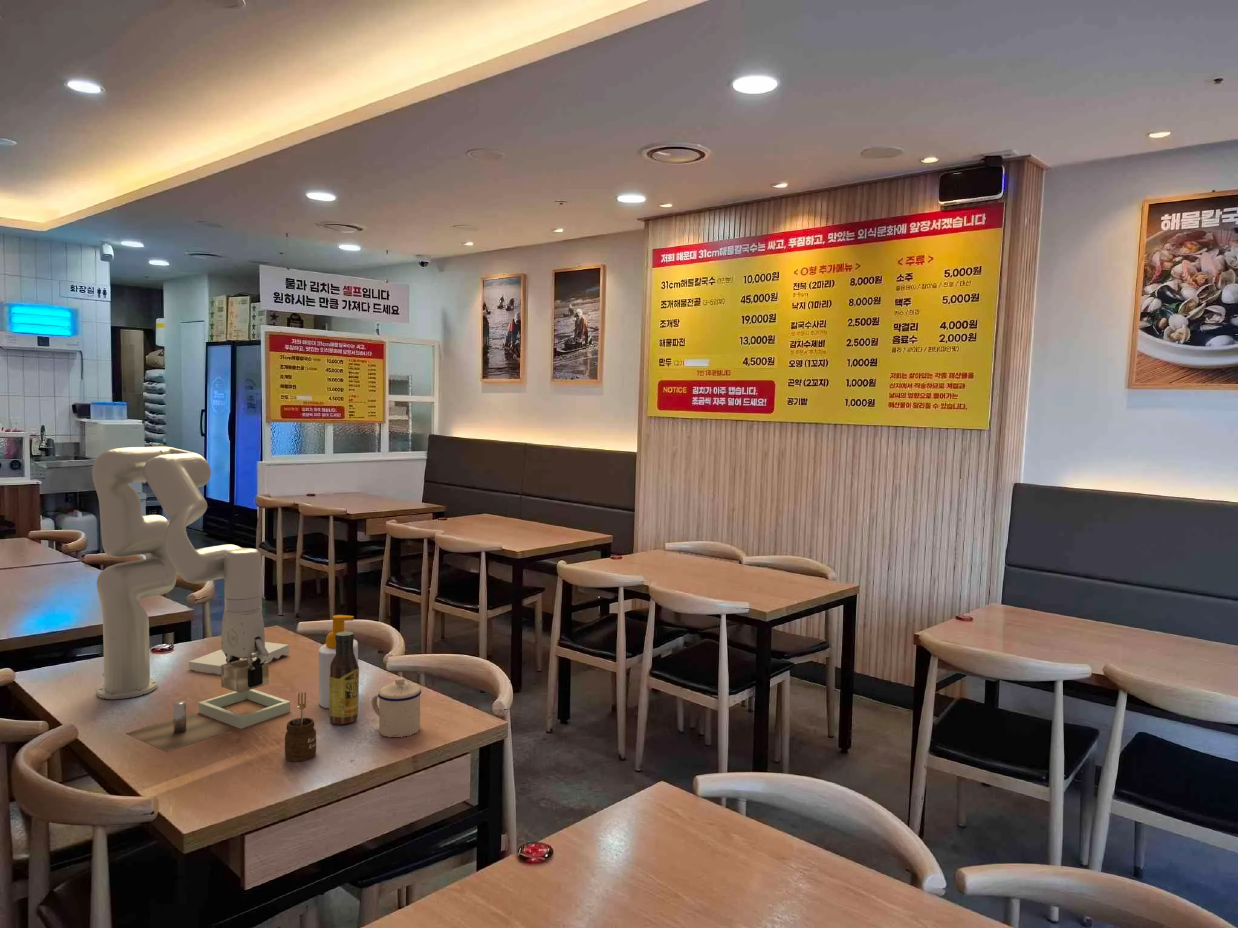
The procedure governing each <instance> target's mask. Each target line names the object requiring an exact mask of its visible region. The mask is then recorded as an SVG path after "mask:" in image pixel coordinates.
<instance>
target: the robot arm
mask: <svg viewBox="0 0 1238 928" xmlns="http://www.w3.org/2000/svg"><path fill="white" fill-rule="evenodd" d="M211 476H212V471H211V467H210V463H209V462H208V461H207V460H206V459H205V457H204V456H202V455H201V454H199V453H196V452H192V451H189V450H184V449H179V448H175V447H171V446H130V447H129V446H128V447H118V448H111V449H107V450H105V451H103V452H101V453H100V454H99V455H98V456H96V458H95V460H94V461H93V465H92V481H93V485H94V489H95V491H96V494H97V499H98V502H99V503H98V504H99V520H100V532H101V533H100V535H101V545H102V549H103V551H104V553H105V555H107V556H108V557H111V558H117V559H118V558H119V559H120V558H128V557H135V556H141V555H145V558H144V559H138V560H131V561H126V562H118V563H116V564H112V565H110V566H107V567H106V568H104V569H102V571H101V572H100V573H99V574H98V576H97V580H96V588H97V593H98V597H99V601H100V606H101V615H102V633H103V634H102V636H103V637H102V640H103V641H102V642H103V644H102V645H103V673H102V677H103V679H104V680H103V681H104V684H103V685H100V687H98V688H97V690H96V695H97V696H98V697H99V698H101V697H102V698H101V699H104V698H105V699H107V700H121V699H129V698H130V697H131V698H136V697H140V696H144V695H147V694H149V693H151V692H153V691H154V690H157V688H158V681H157V680H156V679H154V678H151V669H150V667H151V665H150V664H151V662H150V659H151V658H150V625H149V623H150V622H149V621H150V620H149V615H148V614H147V611H146V610H145V608H143V606H142V605H141V604H140V602H139V601H141V600H144V599H146V598H147V599H149V598H152V597H157V596H160V595H164V594H167V593H169V592H170V591H172V590H173V589H174V588H175V586H176V582H177V578H178V577H177V575H179V577H180V578H181V579H183V581H185V582H187V583H190V584H194V585H197V584H202V583H206V582H212V581H215V580H222V579H223V580H224V582H223V583H224V584H223V585H224V587H223V588H224V590H223V591H224V611H223V614H222V619H221V620H222V621H221V622H222V623H221V635H220V637H221V641H220V644H221V645H220V647H221V649H222V651H223V652H224V654H225V656H226V662H227V663H230V662H233V661H237V660H240V658H242V659H246V658H247V661H248V664H249V667H250V669H249V670H248V687H250V688H251V687H254V686H258V685H261V684H262V683H263V672H262V667H264V663H265V661H266V658H267V657H268V655H269V653H268V651H267V650H266V648H265V642H266V635H265V623H264V617H263V613H262V612H263V611H262V610H263V599H262V598H263V595H262V554H261V552H260V551H259V550H258V549H257V548H251V547H241V546H239V545H235V544H231V543H230V544H229V543H228V544H220V545H211V546H207V547H201V548H195V547H194V545H193V544H192V542H191V540H190V539H189V536H188V535H187V534H188V533H187V527H188V526H190V525H191V524H193V523H194V522H196V521H197V520H199V519H200V518H201V517H202V516H203V515H204V514H205V513H206V511H207V509H208V503H207V500H206V499H205V497H204V496H203V493H202V492H201V490H200V489H199V488H201V487H204V486H206V485H207V484H208V483H209V481H210V479H211ZM131 483H147V484H148V485H149V487H150V489H151V491H152V492H153V495H154V496H155V498H156V500H157V502H158V503H159V504H160V506H161V508H162V510H163V512H164V513H165V515H166V516H167V518H166V517H164V516H163V515H160V514H146V515H142V505H141V504H142V503H141V497H140V495H139V494H138V493H137V491H136V490H135V488H134V487H133V486H132V485H131ZM221 649H220V650H221ZM252 653H255V654H253V655H252ZM255 657H256V658H257V659H256V660H255V662H253V659H252V658H255ZM143 694H144V695H143ZM105 699H104V700H105Z"/></svg>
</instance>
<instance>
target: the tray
mask: <svg viewBox="0 0 1238 928" xmlns="http://www.w3.org/2000/svg"><path fill="white" fill-rule="evenodd" d="M245 700H248V701H250V702H254V703H256V704H259V705H262V706H264V707H263V708H260V709H258V710H255V711H252V712H249V713H246V714H243V715H241V714H238V713H236V712H233V711H231V710H228V709H225V708H223V707H226V706H227V707H228V706H229V705H233V704H235V703H239V702H243V701H245ZM197 703H198V713H199V714H202V715H204V716H206V717H209V718H212V719H214V720H217V721H220V722H222V723H224V724H228V725H229V726H232V727H234V728H236V729H237V728H238V729H241V730H242V729H245V728H247V727H251V726H252V725H256V724H259V723H262V722H265V721H267V720H271V719H273V718H277V717H279V716H282V715H284V714H285V715H286V714H287V713H290V712H291V701H289V700H286V699H284V698H281V697H278V696H275V695H272V694H269V693H266V692H262V691H260V690H257V689H255V688H254V689H251V690H248V691H244V692H241V693H239V692H235V691H232V692H231V691H230V692H228V693H225V694H221V695H218V696H215V697H212V698H208V699H205V700H201V701H198V702H197ZM265 706H266V707H265Z"/></svg>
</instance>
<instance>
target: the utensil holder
mask: <svg viewBox="0 0 1238 928" xmlns="http://www.w3.org/2000/svg"><path fill="white" fill-rule="evenodd" d="M297 693H298V694H297V706H296V705H295V707H294V709H293V710H291V711H292V712H291V713H293V714H296V712H295V711H296V709H297V710H299V711H300V717H296V718H295V719H294V716H291V717H292V718H291V720H289V721H288V722H287V723H286V733H285V734H284V756H285V758H286V760H288V761H289V760H290V762H295V761H297V762H304V761H303V760H305V761H308V760H310V759H312V758H313V757H315V755H316V754H317V732H316V729H315V721H314V719H312V718H310V717H304V715H305V714H306V712H305V708H306V706H307V692H304V693H303V692H301V693H300V692H297ZM303 700H304V701H303Z"/></svg>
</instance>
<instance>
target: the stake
mask: <svg viewBox="0 0 1238 928" xmlns="http://www.w3.org/2000/svg"><path fill="white" fill-rule="evenodd" d="M172 710H173V711H172V715H173V717H172V719H173V723H174V733H183V732H185V731H187V724H186V714H187V702H186V701H183V700H182V701H181V700H180V701H176V702H174V703H172Z"/></svg>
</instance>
